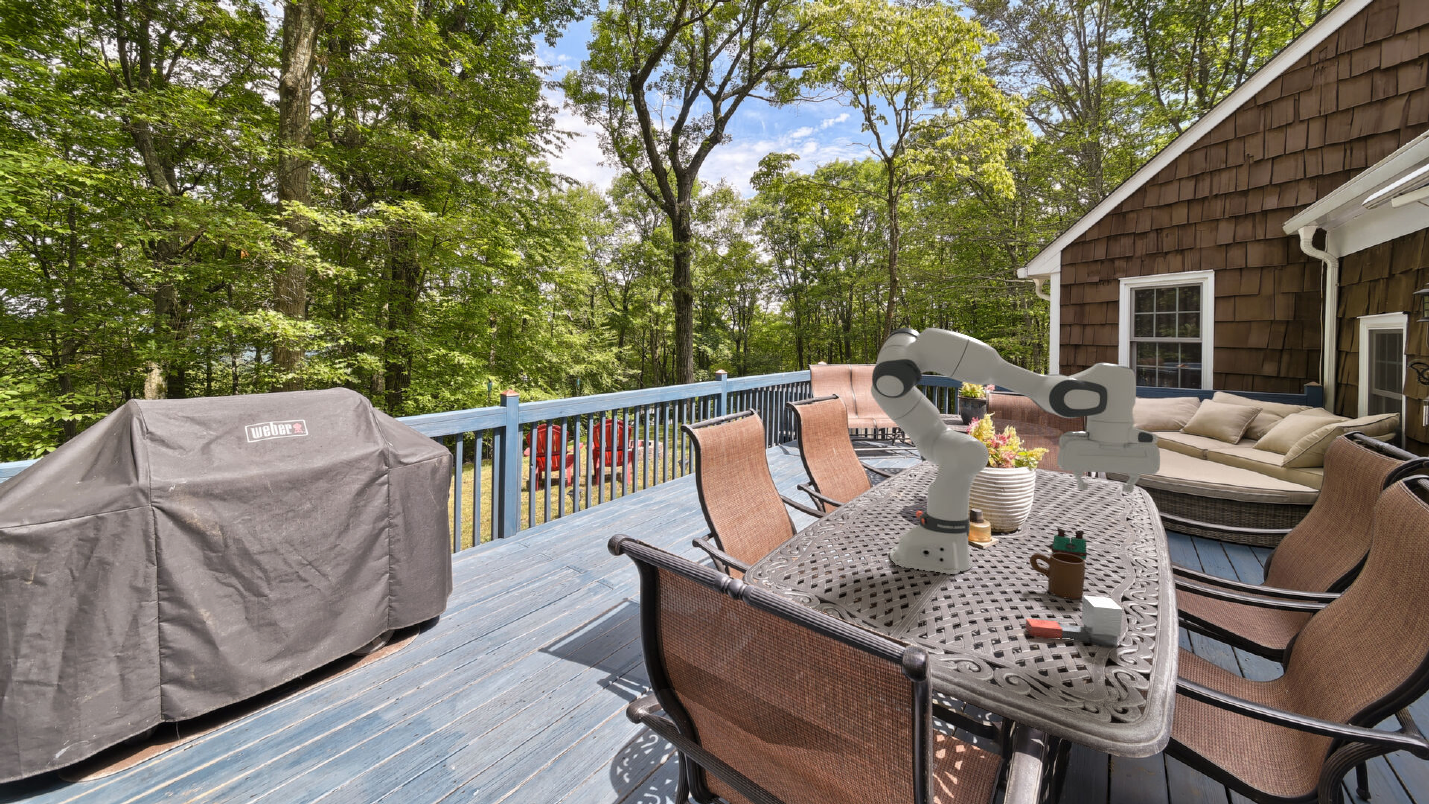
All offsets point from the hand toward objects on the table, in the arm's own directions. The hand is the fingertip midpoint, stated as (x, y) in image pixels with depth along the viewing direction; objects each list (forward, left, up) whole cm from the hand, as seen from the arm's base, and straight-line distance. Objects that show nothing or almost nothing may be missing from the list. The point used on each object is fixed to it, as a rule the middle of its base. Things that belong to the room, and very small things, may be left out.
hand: (1104, 490), depth 128 cm
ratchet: (-11, -16, -29) cm, 35 cm away
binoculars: (+5, +30, -29) cm, 42 cm away
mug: (-6, +8, -29) cm, 31 cm away
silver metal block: (-6, -16, -27) cm, 32 cm away
